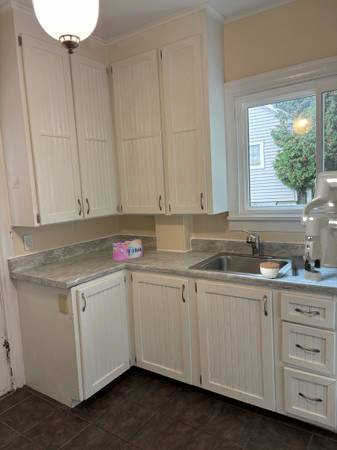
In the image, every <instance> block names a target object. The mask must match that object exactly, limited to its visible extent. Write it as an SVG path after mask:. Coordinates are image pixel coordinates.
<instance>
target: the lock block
mask: <svg viewBox="0 0 337 450" xmlns="http://www.w3.org/2000/svg"><path fill="white" fill-rule="evenodd" d="M303 279H306V280H305V281H309V280H311V281H310V282H313V281H315V282H314V283H317V281H318V282H320V281H319V280H321V281H322V271H319V270H315V269H312V270H311V271H305V270H304V277H303Z"/></svg>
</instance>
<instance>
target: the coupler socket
mask: <svg viewBox="0 0 337 450" xmlns="http://www.w3.org/2000/svg"><path fill="white" fill-rule="evenodd" d="M290 255H291V256H290V258H291V259H290V264H291V265H290V268H291V270H292V271H291V276H292V277H296V270H303V269H305V263H304V259H303V256H304V255H305V254H290ZM308 261H309V260H308ZM311 270H313V268H312V267H311Z"/></svg>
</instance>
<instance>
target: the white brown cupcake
mask: <svg viewBox="0 0 337 450" xmlns="http://www.w3.org/2000/svg"><path fill="white" fill-rule="evenodd" d="M259 268H260V269H259V270H260V274H261V275H262V277H263V278H264V277H265V278H264V279H266V278H274V279H276V277H277V276H279V272H280V264H279V263H277V262H271V261H267V262H261V263H260V264H259Z"/></svg>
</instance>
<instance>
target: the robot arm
mask: <svg viewBox="0 0 337 450" xmlns="http://www.w3.org/2000/svg"><path fill="white" fill-rule="evenodd" d="M321 206H323V209H322V210H323V212H324V213H325V214H326V215H325V214H310V213H311V211H312V210H314V209H316V208H319V207H321ZM301 213H302V214H301V218H300V223H301V224H300V225H301V226H302V227H303V228H305V244H304V246H305V247H304V254H303V255H304V256H303V259H304V263H305V270H304V272H305V271H311V268H312V263H311V262H312V261H314V268H315V269H321V267H323V266H324V267H325V268H337V234H336V232H337V216H334V215H337V170H325V171H321V172H319V173H318V174H317V180H316V185H315V190H314V195H313V198H312V199H311V200H309V201H308V202H307V203H306V204H305V205H304V207H303V210H302V212H301ZM327 214H328V216H327ZM329 215H330V216H329ZM331 215H332V216H331ZM308 260H309V261H308ZM324 267H323V268H324Z"/></svg>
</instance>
